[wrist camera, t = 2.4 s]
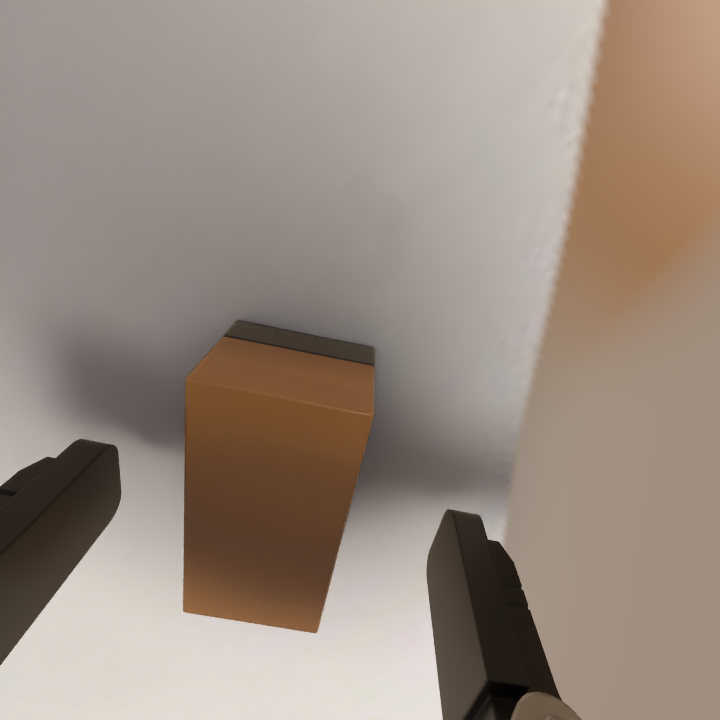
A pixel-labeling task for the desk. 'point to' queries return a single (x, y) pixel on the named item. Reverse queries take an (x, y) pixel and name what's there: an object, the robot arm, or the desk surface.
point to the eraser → (271, 472)
